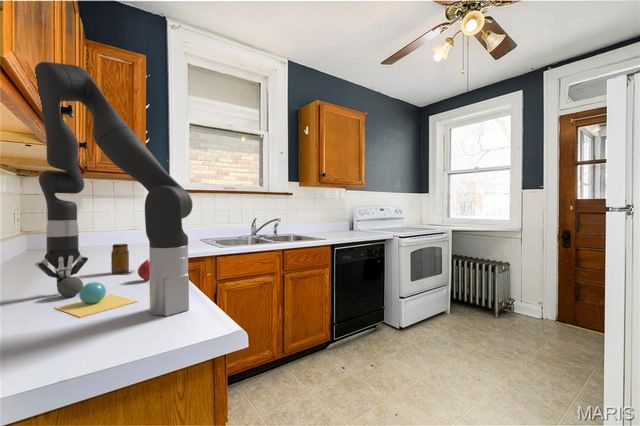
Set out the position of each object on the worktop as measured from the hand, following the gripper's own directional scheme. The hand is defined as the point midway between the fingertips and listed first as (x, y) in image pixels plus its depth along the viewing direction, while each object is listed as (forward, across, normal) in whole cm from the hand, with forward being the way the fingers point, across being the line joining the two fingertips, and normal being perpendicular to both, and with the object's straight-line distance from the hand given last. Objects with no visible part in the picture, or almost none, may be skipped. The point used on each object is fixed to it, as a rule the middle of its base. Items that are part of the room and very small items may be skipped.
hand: (63, 289), depth 91 cm
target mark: (+2, 0, +21) cm, 21 cm away
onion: (+2, -23, +6) cm, 24 cm away
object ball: (-2, 0, +18) cm, 18 cm away
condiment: (+2, -26, -16) cm, 30 cm away
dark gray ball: (-2, 0, +5) cm, 5 cm away
